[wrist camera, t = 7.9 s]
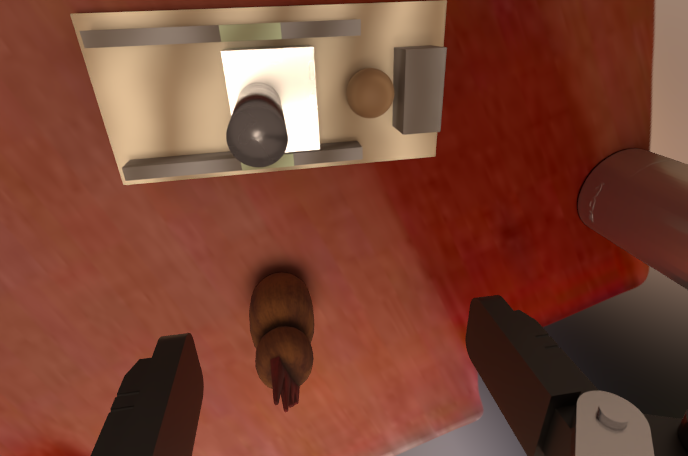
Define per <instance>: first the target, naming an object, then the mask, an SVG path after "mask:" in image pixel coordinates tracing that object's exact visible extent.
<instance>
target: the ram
mask: <svg viewBox="0 0 688 456" xmlns="http://www.w3.org/2000/svg"><path fill="white" fill-rule="evenodd" d="M221 56H222V62H223V68H224V74H225V80H226V86H227V92H228V98H229V104H230V110H231V119H230V121H229V124H228V127H227V132H226V140H227V145H228V147H229V150H230V151H231V153H232V154H233V156H234V157H235V158H236V159H237V160H239V161H240V162H241V163H243V164H245V165H248V166H251V167H257V168H259V167H267V166H270V165H272V164H274V163H276V162H277V161H278V160H279V159H280V158H281V157H282V156H283V155H284V153H285V152H297V151H308V150H320V140H319V124H318V109H317V94H316V78H315V63H314V48H313V46H311V45H309V44H308V45H287V46H267V47H247V48H227V49H224V50H222V51H221Z"/></svg>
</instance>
